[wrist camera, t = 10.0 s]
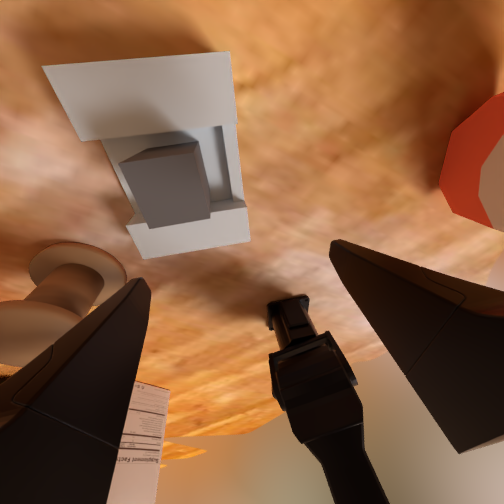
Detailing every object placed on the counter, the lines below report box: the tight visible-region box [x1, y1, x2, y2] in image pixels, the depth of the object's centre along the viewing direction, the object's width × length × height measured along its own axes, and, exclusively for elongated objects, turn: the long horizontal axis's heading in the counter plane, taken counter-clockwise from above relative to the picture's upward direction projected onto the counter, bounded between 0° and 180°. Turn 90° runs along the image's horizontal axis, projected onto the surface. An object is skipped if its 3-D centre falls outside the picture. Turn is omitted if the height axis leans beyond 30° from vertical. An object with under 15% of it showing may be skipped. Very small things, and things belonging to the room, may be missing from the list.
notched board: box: [42, 51, 250, 260], centre depth 16 cm, size 13×10×3 cm
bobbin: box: [0, 242, 127, 367], centre depth 18 cm, size 8×8×8 cm
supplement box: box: [107, 381, 170, 504], centre depth 32 cm, size 9×9×15 cm
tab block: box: [118, 141, 210, 229], centre depth 14 cm, size 4×4×6 cm
